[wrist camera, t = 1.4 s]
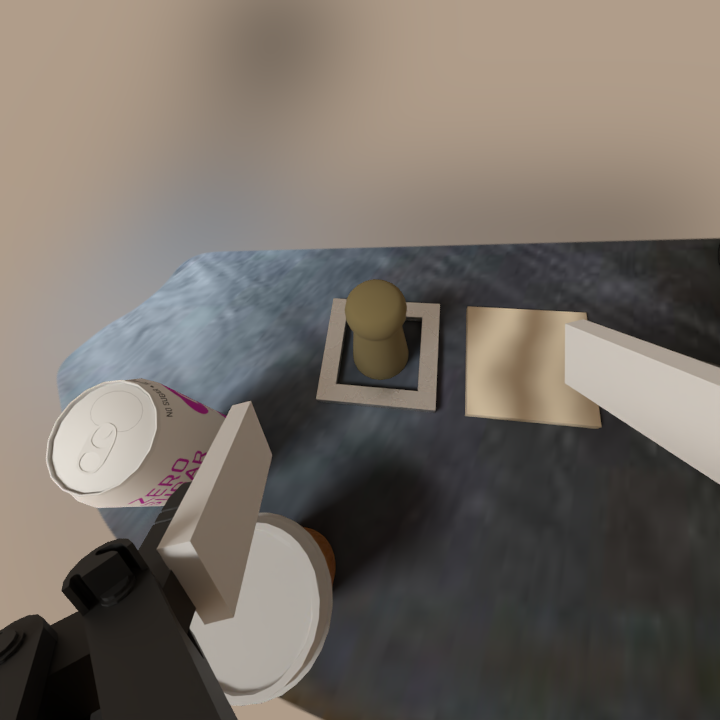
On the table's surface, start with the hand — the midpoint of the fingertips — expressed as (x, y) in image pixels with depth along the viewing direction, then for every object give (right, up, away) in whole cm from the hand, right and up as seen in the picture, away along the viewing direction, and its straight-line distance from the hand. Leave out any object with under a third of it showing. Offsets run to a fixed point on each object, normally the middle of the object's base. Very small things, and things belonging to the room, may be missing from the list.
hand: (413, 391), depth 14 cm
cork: (0, +2, +23) cm, 23 cm away
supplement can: (-16, -9, +21) cm, 28 cm away
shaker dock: (0, +2, +23) cm, 23 cm away
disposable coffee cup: (-7, -17, +16) cm, 25 cm away
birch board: (+15, +1, +21) cm, 26 cm away
